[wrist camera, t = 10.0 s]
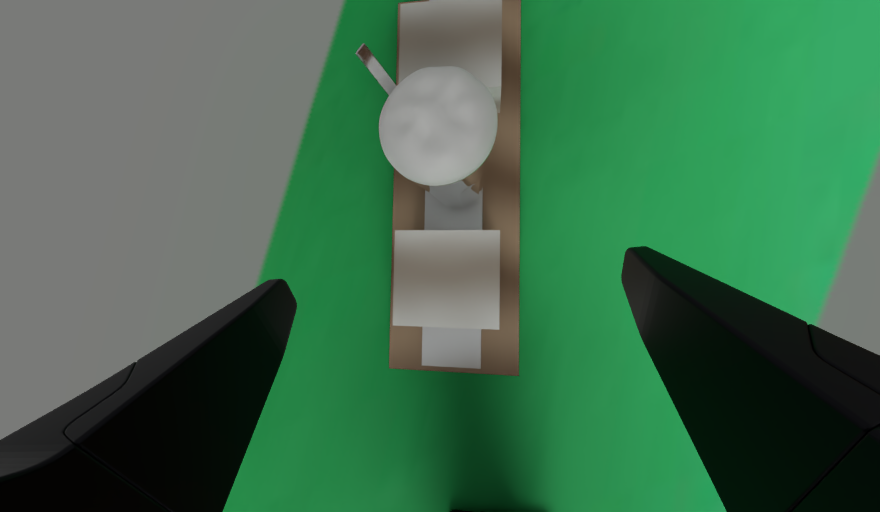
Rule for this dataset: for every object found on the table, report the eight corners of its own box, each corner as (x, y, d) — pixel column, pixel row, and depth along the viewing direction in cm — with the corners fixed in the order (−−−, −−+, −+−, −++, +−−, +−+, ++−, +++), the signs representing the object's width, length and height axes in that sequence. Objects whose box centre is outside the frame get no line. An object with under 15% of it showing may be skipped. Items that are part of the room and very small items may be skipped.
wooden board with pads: (517, 370, 22) (524, 397, 17) (394, 363, 23) (367, 387, 18) (519, 5, 23) (526, -68, 18) (402, 16, 24) (380, -50, 20)
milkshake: (443, 122, 22) (402, -7, 12) (511, 176, 21) (528, 84, 11) (396, 179, 22) (317, 99, 12) (461, 234, 21) (434, 197, 11)
